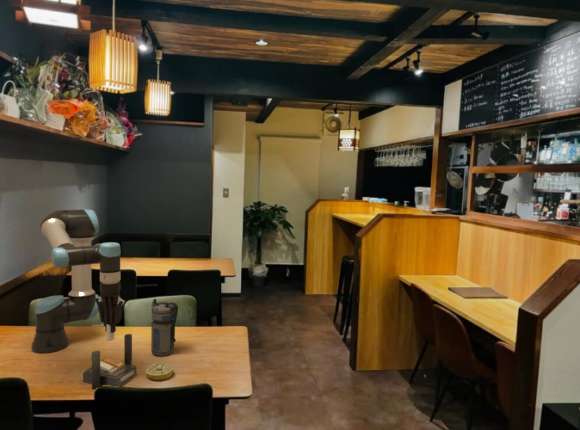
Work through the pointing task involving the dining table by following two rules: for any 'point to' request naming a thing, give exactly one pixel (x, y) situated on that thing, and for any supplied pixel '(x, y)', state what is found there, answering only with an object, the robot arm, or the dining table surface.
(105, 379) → the breaker box
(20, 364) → the dining table surface
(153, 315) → the beverage bottle
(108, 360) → the paddle orange
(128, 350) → the post far
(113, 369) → the paddle ivory
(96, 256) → the robot arm
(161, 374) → the decorated donut
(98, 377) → the post near
